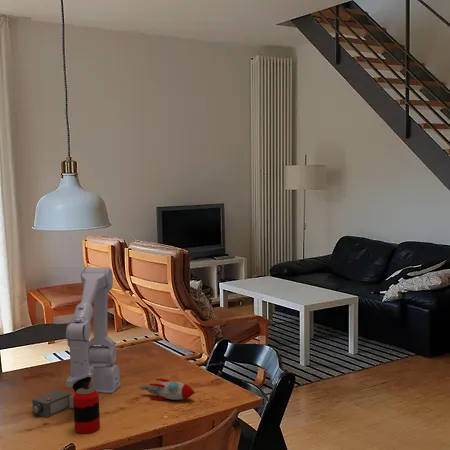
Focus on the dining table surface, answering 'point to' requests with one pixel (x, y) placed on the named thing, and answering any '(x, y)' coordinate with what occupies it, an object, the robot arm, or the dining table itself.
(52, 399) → the cam body
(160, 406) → the dining table surface
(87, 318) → the robot arm
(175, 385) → the toy
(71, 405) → the side door
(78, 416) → the soda can
